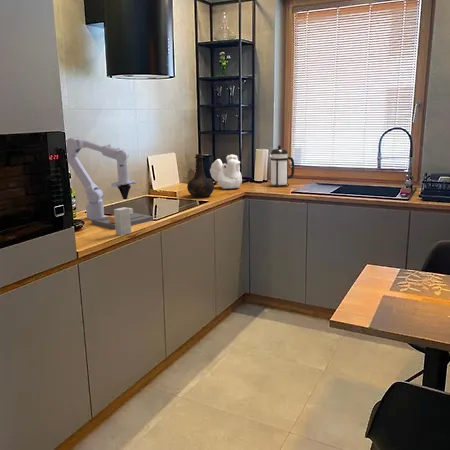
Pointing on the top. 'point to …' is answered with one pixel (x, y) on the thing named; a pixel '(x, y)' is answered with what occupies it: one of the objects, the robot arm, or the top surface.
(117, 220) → the skincare box
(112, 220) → the block
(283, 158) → the coffee press
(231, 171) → the decorative rooster
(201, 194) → the dark brown vase
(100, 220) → the dark grey slab
